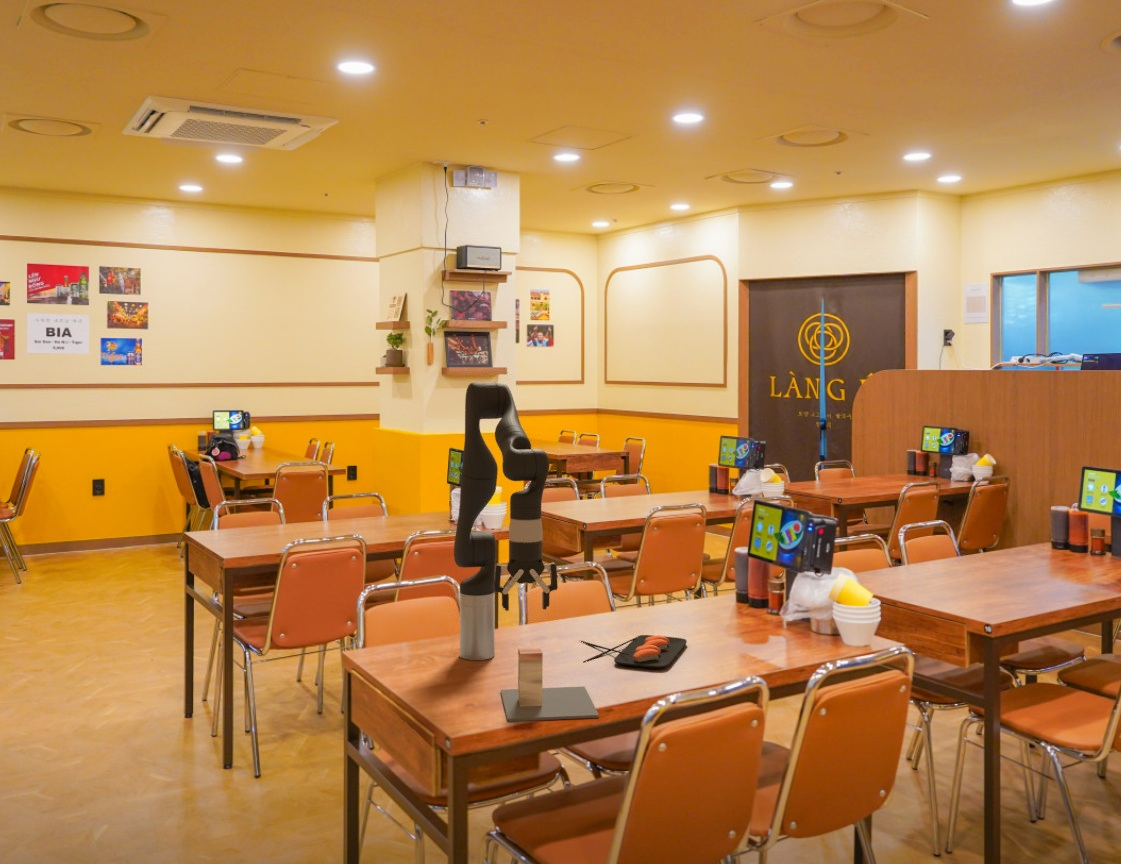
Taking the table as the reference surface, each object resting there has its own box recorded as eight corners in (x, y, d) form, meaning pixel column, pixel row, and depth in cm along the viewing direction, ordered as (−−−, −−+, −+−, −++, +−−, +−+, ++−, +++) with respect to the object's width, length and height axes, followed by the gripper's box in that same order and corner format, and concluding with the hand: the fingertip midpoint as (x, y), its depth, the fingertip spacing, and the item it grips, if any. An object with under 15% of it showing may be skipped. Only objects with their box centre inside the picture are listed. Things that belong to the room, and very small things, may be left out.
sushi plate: (666, 674, 247) (666, 659, 247) (553, 663, 256) (554, 648, 256) (689, 645, 274) (689, 631, 274) (587, 635, 284) (587, 622, 284)
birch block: (518, 699, 224) (518, 647, 223) (539, 698, 224) (540, 646, 224) (520, 706, 219) (520, 653, 218) (542, 705, 219) (542, 652, 219)
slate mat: (500, 692, 231) (500, 689, 231) (584, 688, 233) (584, 686, 233) (507, 721, 211) (507, 718, 211) (598, 717, 213) (598, 714, 213)
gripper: (554, 534, 224) (554, 604, 225) (492, 536, 222) (492, 606, 223) (559, 540, 217) (559, 612, 218) (495, 541, 215) (495, 614, 216)
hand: (525, 609), depth 220 cm, fingers open, 8 cm apart
